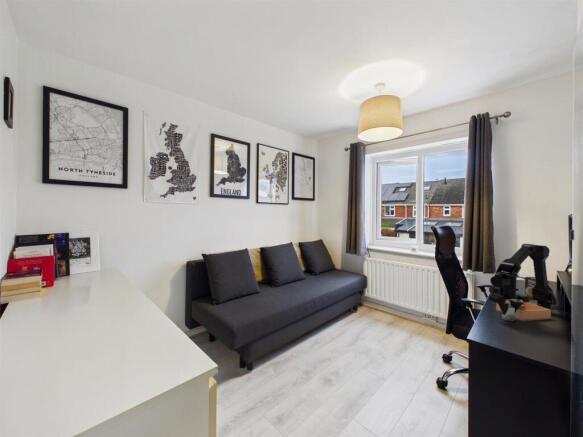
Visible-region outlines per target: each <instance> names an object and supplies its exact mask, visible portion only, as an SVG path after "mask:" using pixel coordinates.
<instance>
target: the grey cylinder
mask: <svg viewBox="0 0 583 437" xmlns="http://www.w3.org/2000/svg"><path fill="white" fill-rule="evenodd" d="M501 318H502V320H505V321H508V322H515V320H516V318H515V307H514V306H511V305H509V306H508V309H507V312H506V314H505V315H503V314H502V313H501Z"/></svg>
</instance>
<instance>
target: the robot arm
mask: <svg viewBox="0 0 583 437" xmlns="http://www.w3.org/2000/svg"><path fill="white" fill-rule="evenodd" d="M549 256H550V248H549V247H548V246H547V245H539V244H534V243H533V244H532V243H522V244H521V246H520V248H519V249H518V250H516V252H515V253H513V255H512V256H511V257H509V258H506V259H504V260H503V261H501V262H500V263H499V265H498V267H497V269H496V271H495V273H494V275H493V276H492V277H490V279H489V280H490V284H491V285H492V286H490V287H488V291H489V293H490V295H488V301H491V302H493V303H498V305H499V306H500V309H501V311H502V313H501V315H502V314H503V315H505V314H506V312H507V309H508V306H509V304H508V303H507V301H509V302H510V303H511V306H514V307H515V312H516V311H517V310H518V309H519V308H520V306H521V305H522V304H524V303H523V302H529V298H528V297H527V296H524V295H521V294H516V291H519V289H517V288H516V279H517V277H518V278H520V276H519V272H520V271H521V269H522V266H521V265H522V264H523V263H524V262H525V261H526V259H527V258H530V259H531V260H532V262H533V270H534V277H535V282H536V285H535V286H534V287H533V288H532V296H533V300H537V305H538V306H541V307H544V308H547V309H550V310H551V315H556V312H553V306H554V305H555V306H556V305H558V301H559V300H558V298H557V297H556V295H555V294H554V291H553V290H554V289H552V288H551V287H550V284H549V285H548V281H549V280H548V272H547V265H546V264H547V263H546V261H547V259H548V258H549ZM521 301H523V302H521Z"/></svg>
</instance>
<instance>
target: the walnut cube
mask: <svg viewBox="0 0 583 437" xmlns="http://www.w3.org/2000/svg"><path fill="white" fill-rule="evenodd" d="M508 304H509V305H511V303H508ZM518 310H521V311H525V306H523V305H521V306H520V308H519V309H518Z"/></svg>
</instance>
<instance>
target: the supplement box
mask: <svg viewBox="0 0 583 437" xmlns="http://www.w3.org/2000/svg"><path fill="white" fill-rule="evenodd" d="M516 288H517V289H519V291H516V294H521V295H524V296H525V278H521V277H517V279H516Z"/></svg>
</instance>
